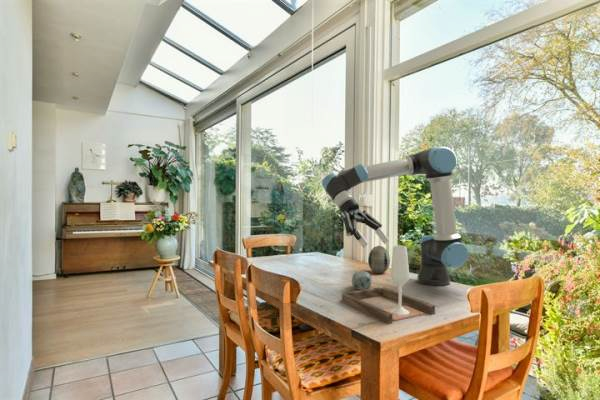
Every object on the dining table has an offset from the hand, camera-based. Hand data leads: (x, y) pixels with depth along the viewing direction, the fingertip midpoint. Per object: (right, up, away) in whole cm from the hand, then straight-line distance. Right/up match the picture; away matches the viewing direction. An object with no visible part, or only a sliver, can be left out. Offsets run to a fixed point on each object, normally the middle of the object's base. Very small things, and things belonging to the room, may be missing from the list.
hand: (376, 243), depth 136 cm
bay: (+3, -24, 0) cm, 25 cm away
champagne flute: (+7, -24, -7) cm, 26 cm away
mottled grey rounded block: (-1, -24, +25) cm, 35 cm away
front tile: (+7, -25, -7) cm, 27 cm away
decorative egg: (+14, -23, +58) cm, 64 cm away
